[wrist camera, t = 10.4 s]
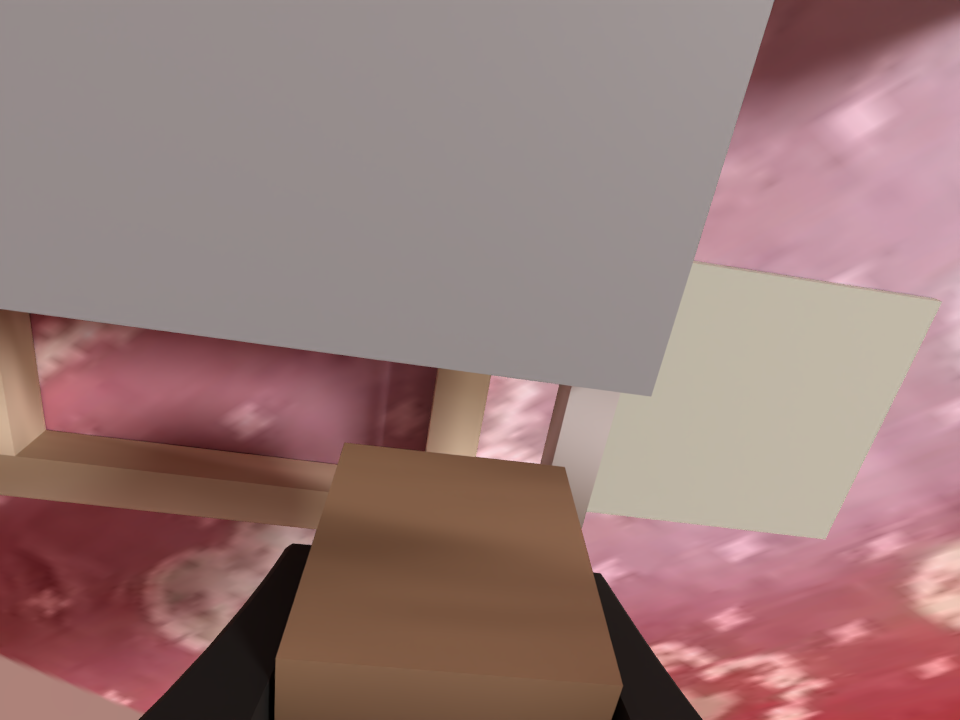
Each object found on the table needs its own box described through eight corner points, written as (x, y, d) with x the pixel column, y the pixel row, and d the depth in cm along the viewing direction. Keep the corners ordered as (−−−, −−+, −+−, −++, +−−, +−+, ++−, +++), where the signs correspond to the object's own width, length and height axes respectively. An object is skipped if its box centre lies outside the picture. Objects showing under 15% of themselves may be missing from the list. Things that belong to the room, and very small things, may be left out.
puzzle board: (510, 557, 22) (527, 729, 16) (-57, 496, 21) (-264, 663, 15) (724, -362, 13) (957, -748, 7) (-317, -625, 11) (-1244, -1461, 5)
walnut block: (526, 625, 13) (556, 878, 9) (333, 609, 13) (271, 863, 9) (564, 466, 11) (622, 686, 7) (344, 442, 11) (275, 658, 7)
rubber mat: (820, 533, 22) (825, 539, 22) (577, 505, 22) (578, 510, 21) (934, 298, 19) (941, 301, 18) (647, 253, 18) (650, 256, 18)
